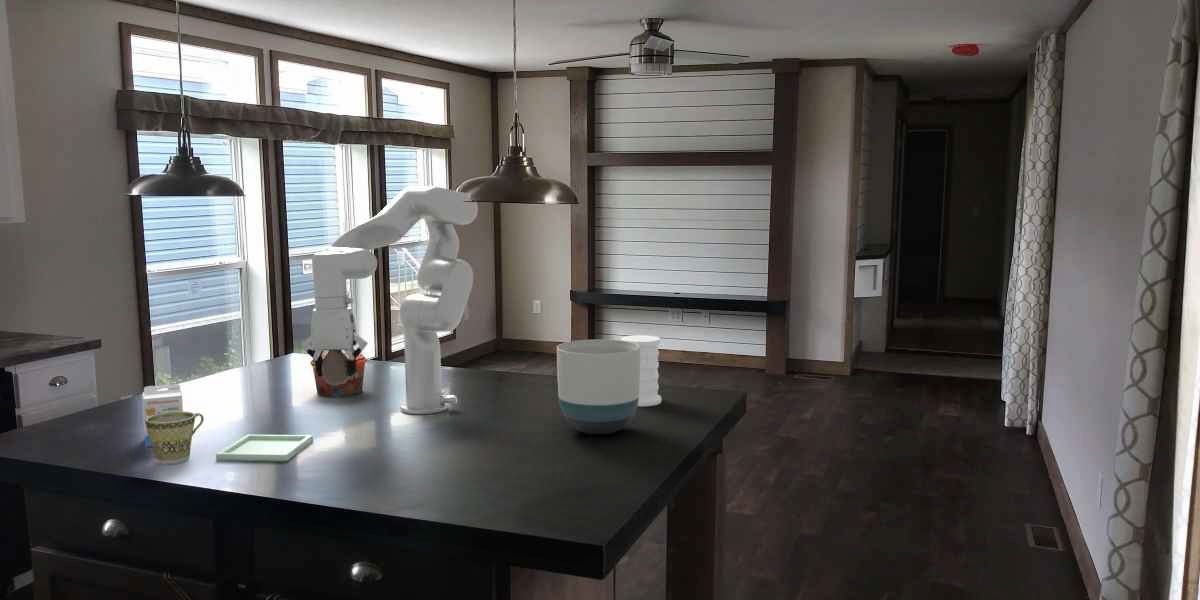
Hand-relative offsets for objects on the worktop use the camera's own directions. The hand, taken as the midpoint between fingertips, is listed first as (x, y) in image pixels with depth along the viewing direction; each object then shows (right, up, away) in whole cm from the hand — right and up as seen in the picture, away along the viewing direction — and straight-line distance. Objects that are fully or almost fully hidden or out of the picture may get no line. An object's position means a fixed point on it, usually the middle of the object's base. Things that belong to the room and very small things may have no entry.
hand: (336, 374), depth 221 cm
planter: (+64, -15, +4) cm, 66 cm away
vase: (0, -2, 0) cm, 2 cm away
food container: (-13, -9, +48) cm, 50 cm away
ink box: (-41, -16, -2) cm, 44 cm away
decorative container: (+76, -11, +35) cm, 84 cm away
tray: (-13, -17, -11) cm, 24 cm away
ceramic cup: (-30, -18, -17) cm, 39 cm away
